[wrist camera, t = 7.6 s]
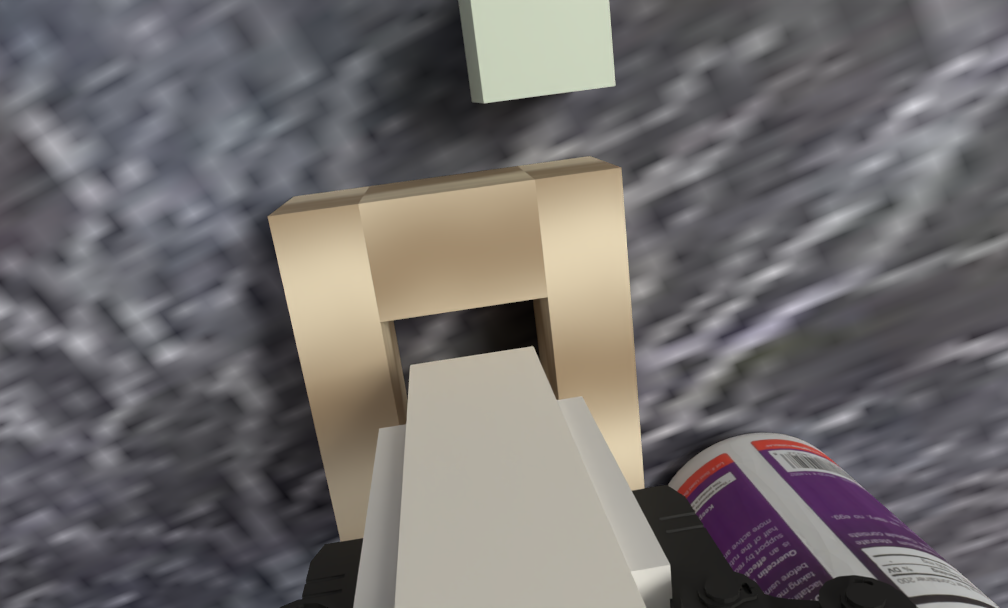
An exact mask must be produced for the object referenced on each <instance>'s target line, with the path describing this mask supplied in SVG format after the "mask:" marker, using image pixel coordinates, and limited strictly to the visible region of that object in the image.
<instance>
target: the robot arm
mask: <svg viewBox="0 0 1008 608" xmlns="http://www.w3.org/2000/svg"><path fill="white" fill-rule="evenodd" d="M557 402H558V405H559V407H560V409H561V411H562V414H563V416H564V418H565V421H566V423H567V425H568V428H569V430H570V432H571V435H572V437H573V439H574V442H575V444H576V446H577V448H578V451H579V453H580V455H581V458H582V460H583V462H584V465H585V467H586V469H587V472H588V474H589V476H590V479H591V481H592V483H593V485H594V488H595V490H596V492H597V495H598V497H599V499H600V502H601V504H602V506H603V509H604V511H605V513H606V516H607V518H608V520H609V523H610V525H611V527H612V529H613V532H614V534H615V536H616V539H617V541H618V543H619V546H620V548H621V550H622V553H623V555H624V557H625V560H626V562H627V564H628V566H629V569H630V571H631V573H632V576H633V578H634V580H635V583H636V585H637V587H638V590H639V592H640V594H641V597H642V599H643V601H644V603H645V606H646V608H918V607H917V606H916V605H915V604H914V603H912V602H911V601H910V600H909V599H908V598H907V597H906V596H905V595H904V594H903V593H901V592H900V591H898V590H897V589H895V588H894V587H892V586H891V585H890V584H887V583H884V582H882V581H879V580H877V579H874V578H870V577H864V576H858V575H849V576H838V577H836V578H833V579H831V580H829V581H826V582H825V583H824V585H823V586H822V587H821V588H820V590H819V601H815V600H800V599H786V598H779V597H774V596H770V595H767V594H764V592H763V591H762V590H761V588H760V587H759V585H758V584H757V583H756V582H755V581H753V580H752V579H750V578H749V577H747V576H746V575H744V574H741V573H738V572H735V571H733V569H732V568H731V566H730V565H729V563H728V562H727V560H726V559H725V557H724V556H723V554H722V552H721V551H720V549H719V548H718V546H717V545H716V543H715V542H714V540H713V539H712V537H711V536H710V534H709V532H708V531H707V529H706V528H704V526H703V523H702V522H701V520H700V519H699V517H698V516H697V515H696V514H695V511H694V509H693V508H692V506H691V505H690V503H689V502H688V500H687V499H686V497H685V496H684V495H682V494H680V493H679V492H677V491H676V490H674V489H673V488H671V487H669V486H668V485H662V486H656V487H650V488H644V489H639V490H633V491H631V489H630V487H629V485H628V483H627V481H626V479H625V477H624V475H623V473H622V472H621V470H620V468H619V466H618V464H617V462H616V460H615V458H614V456H613V454H612V452H611V450H610V449H609V447H608V445H607V443H606V441H605V439H604V437H603V435H602V433H601V431H600V429H599V428H598V426H597V424H596V422H595V420H594V418H593V416H592V414H591V412H590V410H589V408H588V407H587V405H586V403H585V401H584V399H583V397H582V396H580V397H574V398H567V399H561V400H557ZM405 437H406V424H404V425H398V426H392V427H385V428H379V433H378V440H377V447H376V454H375V461H374V468H373V475H372V482H371V489H370V495H369V502H368V509H367V516H366V523H365V530H364V537H363V538H360V539H354V540H348V541H342V542H336V543H330V544H325V545H324V546H323V548H322V549H321V550H320V551H319V552H318V554H317V555H316V556H315V557H314V559H313V560H312V561H311V563H310V567H309V571H308V575H307V579H306V584H305V587H304V591H303V595H302V599H301V600H297V601H294V602H292V603H289V604H287V605H284V606H282V607H280V608H395V593H396V577H397V562H398V546H399V530H400V515H401V499H402V483H403V468H404V452H405Z"/></svg>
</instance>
